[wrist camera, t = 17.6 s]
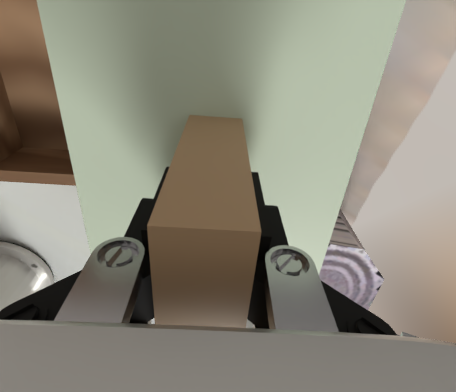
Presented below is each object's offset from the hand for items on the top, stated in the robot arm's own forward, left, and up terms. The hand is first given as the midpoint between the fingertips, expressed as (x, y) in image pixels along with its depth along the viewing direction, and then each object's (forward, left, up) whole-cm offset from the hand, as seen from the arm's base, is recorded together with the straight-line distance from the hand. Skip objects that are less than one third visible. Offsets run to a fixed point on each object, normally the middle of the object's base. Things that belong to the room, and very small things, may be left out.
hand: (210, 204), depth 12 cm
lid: (0, 0, -2) cm, 2 cm away
